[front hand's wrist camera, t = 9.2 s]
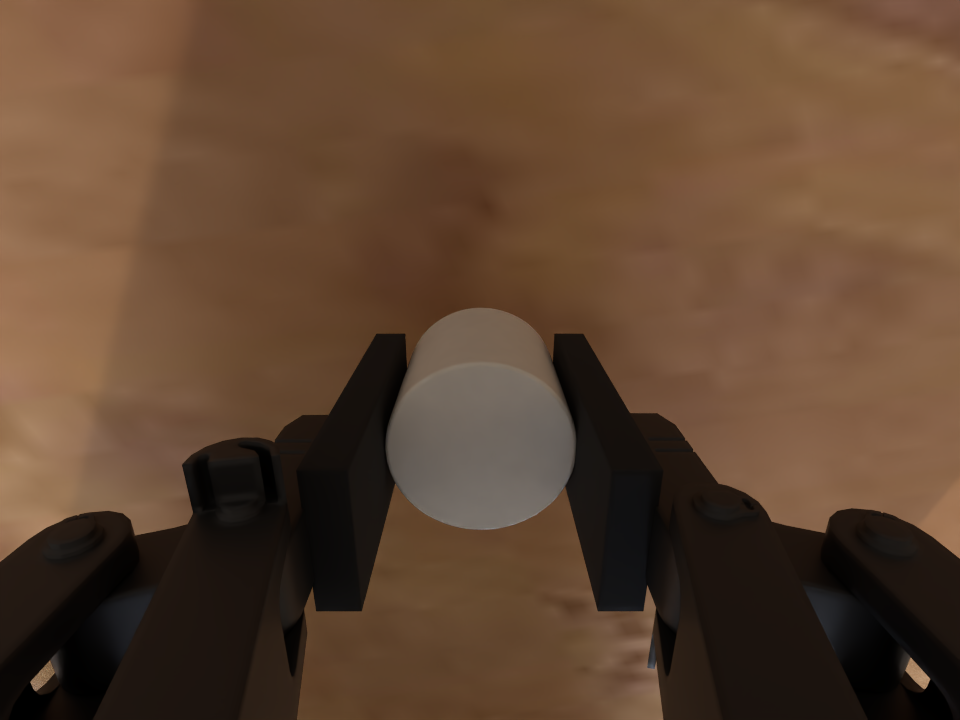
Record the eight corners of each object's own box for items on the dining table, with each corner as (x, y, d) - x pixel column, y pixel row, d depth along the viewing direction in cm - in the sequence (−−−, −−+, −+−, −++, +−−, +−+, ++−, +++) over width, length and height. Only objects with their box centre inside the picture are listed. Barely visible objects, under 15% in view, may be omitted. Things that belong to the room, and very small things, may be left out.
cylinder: (556, 306, 14) (584, 362, 10) (549, 439, 15) (571, 531, 11) (405, 306, 14) (377, 362, 10) (412, 439, 15) (390, 531, 11)
